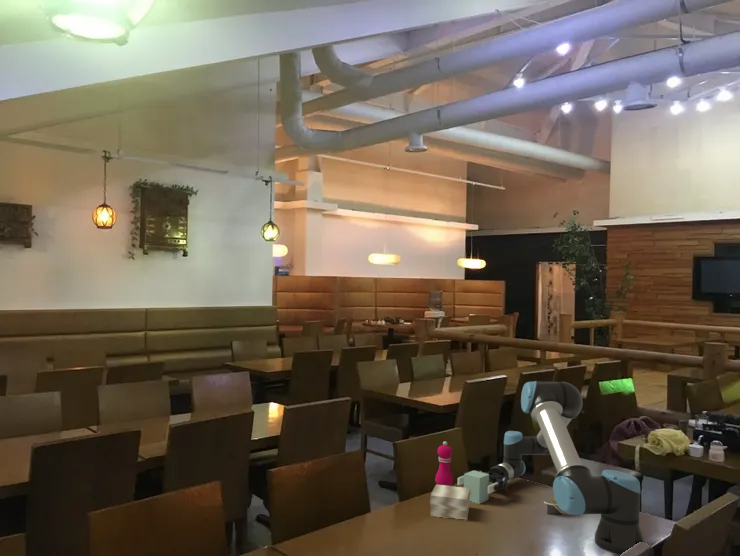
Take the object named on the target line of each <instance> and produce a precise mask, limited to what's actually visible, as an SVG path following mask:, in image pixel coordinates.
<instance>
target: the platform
mask: <svg viewBox="0 0 740 556" xmlns="http://www.w3.org/2000/svg"><path fill="white" fill-rule="evenodd" d="M543 503H544V504H545V505H546V515H554V514H553V513H557V514H561V513H562V515H566V513H564V512H563V511H562V510H561V509H560V508H559V507H558V505H557V503H556V501H555V498H554V496H551V497H550V499H549V500H543Z"/></svg>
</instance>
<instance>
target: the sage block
mask: <svg viewBox="0 0 740 556" xmlns="http://www.w3.org/2000/svg"><path fill="white" fill-rule="evenodd" d="M478 471H479V470H470V471H467V472H468V473H466V474H464V484H463V487H464V488H471V491H470V501H472V502H471V503H473V502H475V503H474V504H476V503H478V504H477V505H480V503H481V504H483V503H485V502H487V501H489V500H488V499H489V493H488V486H489V485H490V482H489V474H486V473H482V472H483V471H482V472H478ZM486 500H487V501H486ZM484 501H485V502H484ZM482 502H483V503H482Z"/></svg>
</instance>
